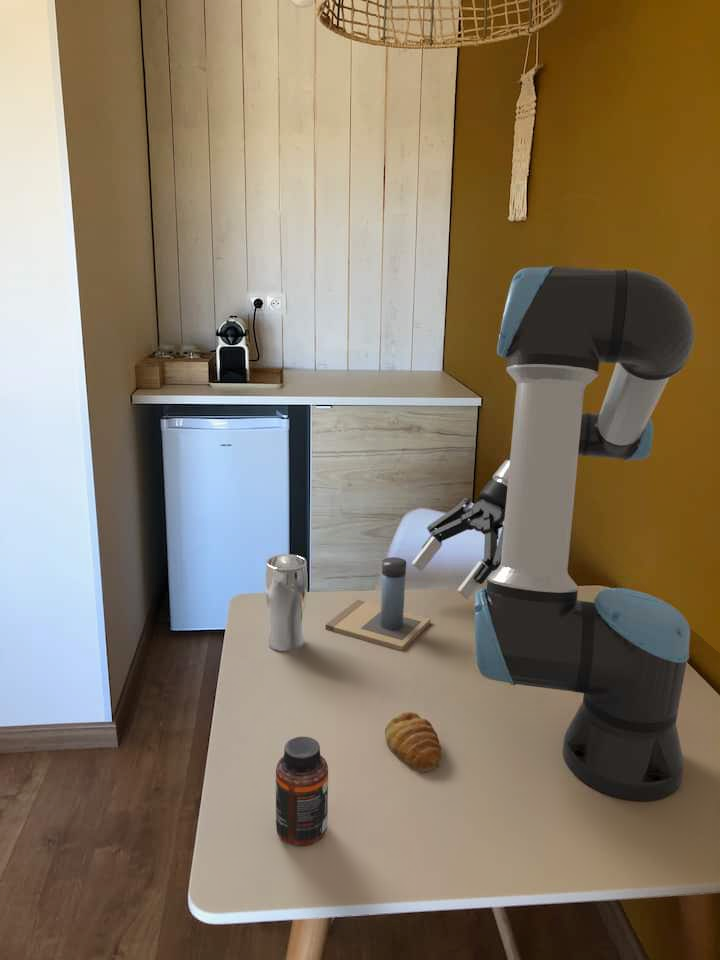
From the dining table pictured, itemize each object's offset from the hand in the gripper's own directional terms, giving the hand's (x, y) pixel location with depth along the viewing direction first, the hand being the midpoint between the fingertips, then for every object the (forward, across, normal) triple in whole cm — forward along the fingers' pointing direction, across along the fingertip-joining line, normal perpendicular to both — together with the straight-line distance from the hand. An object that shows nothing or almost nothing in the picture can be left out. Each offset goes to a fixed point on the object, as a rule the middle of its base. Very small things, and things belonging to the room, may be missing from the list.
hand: (438, 580), depth 141 cm
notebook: (+13, +2, +3) cm, 14 cm away
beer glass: (+26, +4, +15) cm, 30 cm away
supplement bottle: (+38, -36, +28) cm, 60 cm away
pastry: (+24, -30, +13) cm, 41 cm away
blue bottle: (+12, 0, +3) cm, 12 cm away
